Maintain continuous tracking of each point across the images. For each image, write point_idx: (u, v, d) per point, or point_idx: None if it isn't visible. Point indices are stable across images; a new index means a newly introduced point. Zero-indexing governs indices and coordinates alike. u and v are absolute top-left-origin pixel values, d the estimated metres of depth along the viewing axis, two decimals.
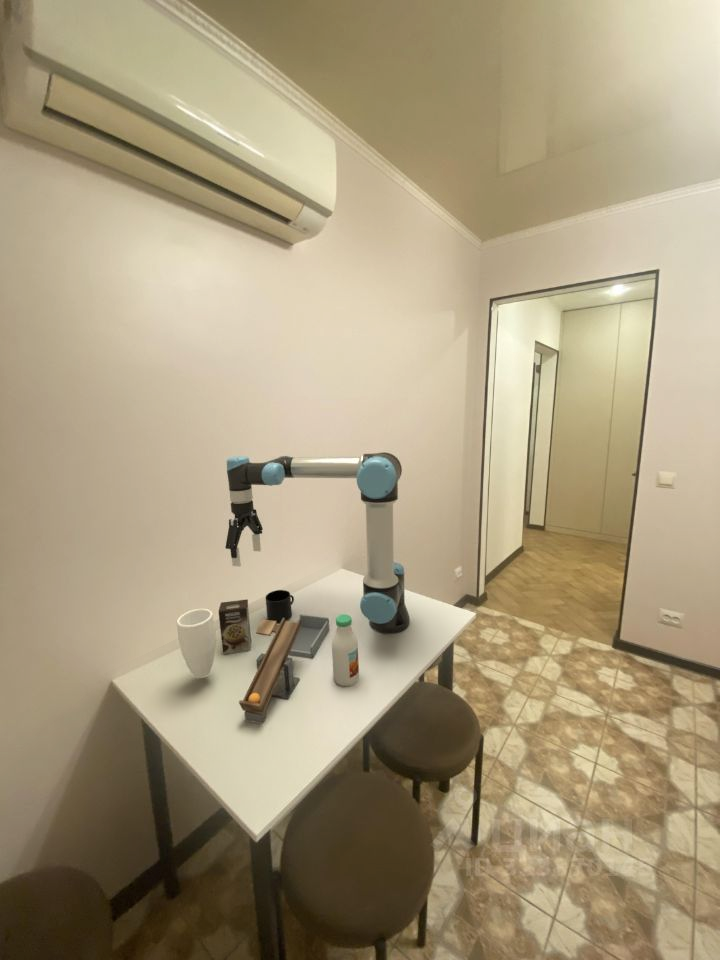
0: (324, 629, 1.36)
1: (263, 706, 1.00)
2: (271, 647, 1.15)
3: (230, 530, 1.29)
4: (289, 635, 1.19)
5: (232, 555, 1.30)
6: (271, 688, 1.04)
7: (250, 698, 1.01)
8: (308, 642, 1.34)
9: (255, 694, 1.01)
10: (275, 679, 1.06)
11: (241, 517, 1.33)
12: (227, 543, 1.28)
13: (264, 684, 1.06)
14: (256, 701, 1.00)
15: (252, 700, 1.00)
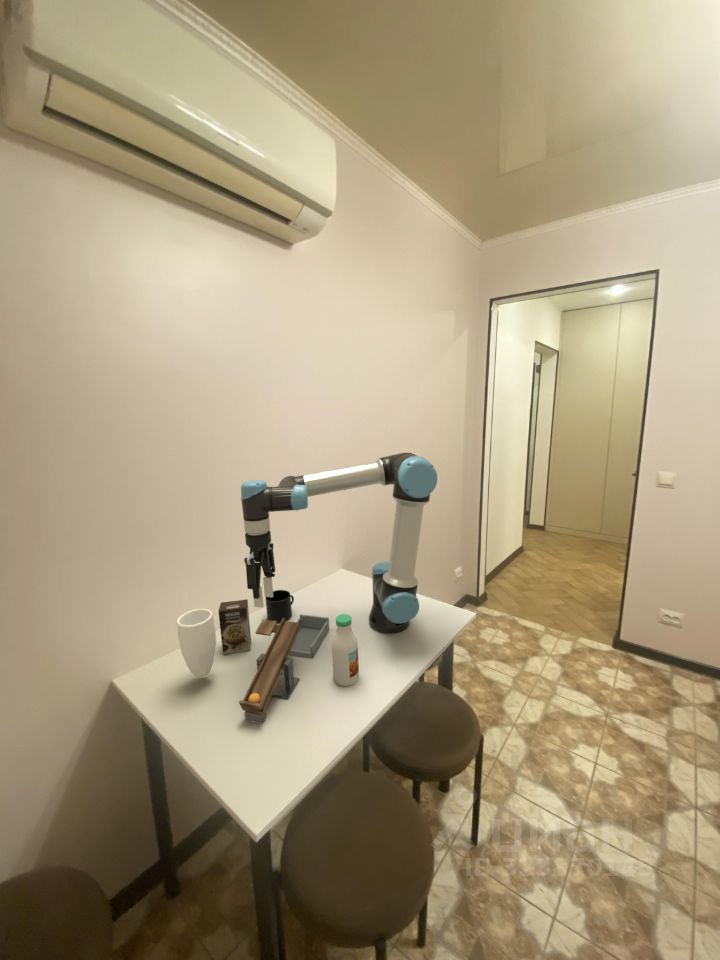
0: (324, 629, 1.36)
1: (263, 706, 1.00)
2: (271, 647, 1.15)
3: (248, 570, 1.13)
4: (289, 635, 1.19)
5: (254, 595, 1.16)
6: (271, 688, 1.04)
7: (250, 698, 1.01)
8: (308, 642, 1.34)
9: (255, 694, 1.01)
10: (275, 679, 1.06)
11: (257, 551, 1.15)
12: (248, 584, 1.14)
13: (264, 684, 1.06)
14: (256, 701, 1.00)
15: (252, 700, 1.00)
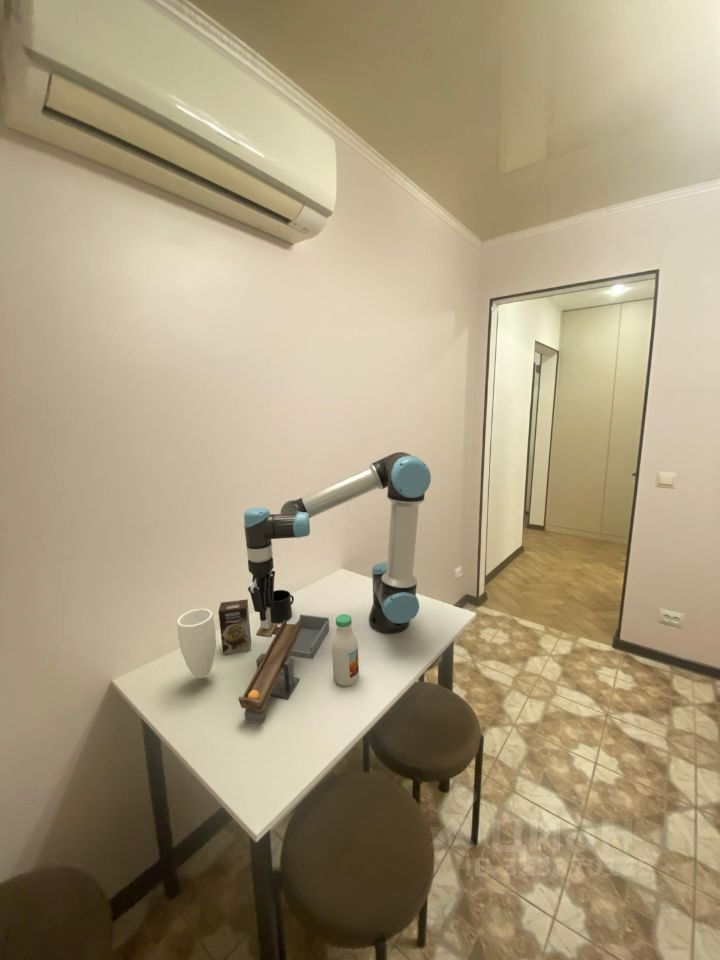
0: (324, 629, 1.36)
1: (262, 703, 1.00)
2: (271, 647, 1.15)
3: (253, 597, 1.16)
4: (290, 637, 1.20)
5: (261, 618, 1.21)
6: (271, 686, 1.04)
7: (250, 695, 1.00)
8: (308, 642, 1.34)
9: (255, 691, 1.01)
10: (275, 678, 1.06)
11: (259, 578, 1.16)
12: (255, 608, 1.18)
13: (264, 683, 1.06)
14: (255, 698, 1.00)
15: (251, 697, 1.00)
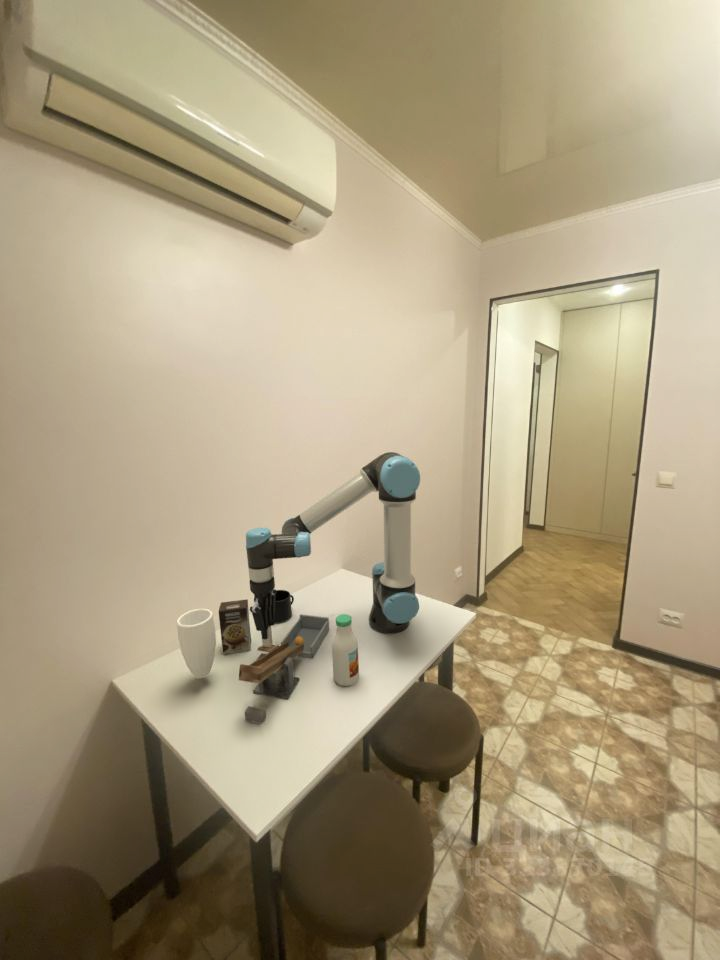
0: (324, 629, 1.36)
1: (262, 675, 0.99)
2: (273, 652, 1.17)
3: (255, 616, 1.18)
4: (291, 652, 1.21)
5: (263, 636, 1.22)
6: (271, 669, 1.04)
7: None
8: (308, 642, 1.34)
9: None
10: (275, 666, 1.06)
11: (261, 597, 1.18)
12: (257, 627, 1.19)
13: (263, 669, 1.06)
14: (301, 639, 1.28)
15: (299, 637, 1.28)
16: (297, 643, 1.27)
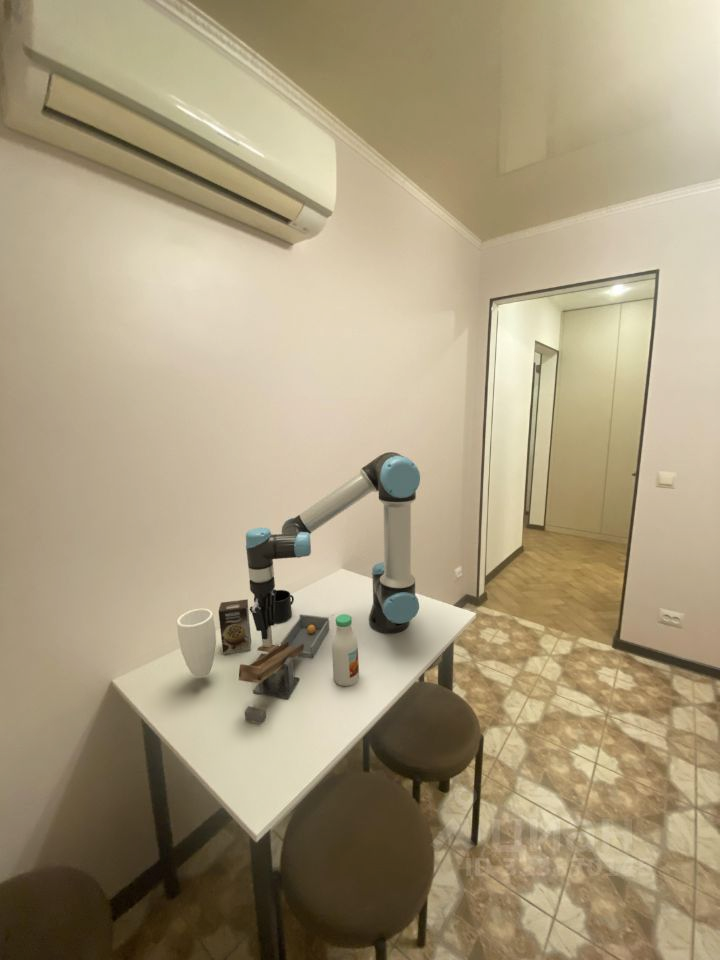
0: (324, 629, 1.36)
1: (262, 675, 0.99)
2: (273, 653, 1.17)
3: (255, 616, 1.18)
4: (291, 652, 1.21)
5: (263, 636, 1.22)
6: (271, 669, 1.04)
7: None
8: (308, 642, 1.34)
9: (311, 633, 1.38)
10: (275, 666, 1.06)
11: (261, 598, 1.18)
12: (257, 627, 1.19)
13: (263, 669, 1.06)
14: None
15: None
16: None
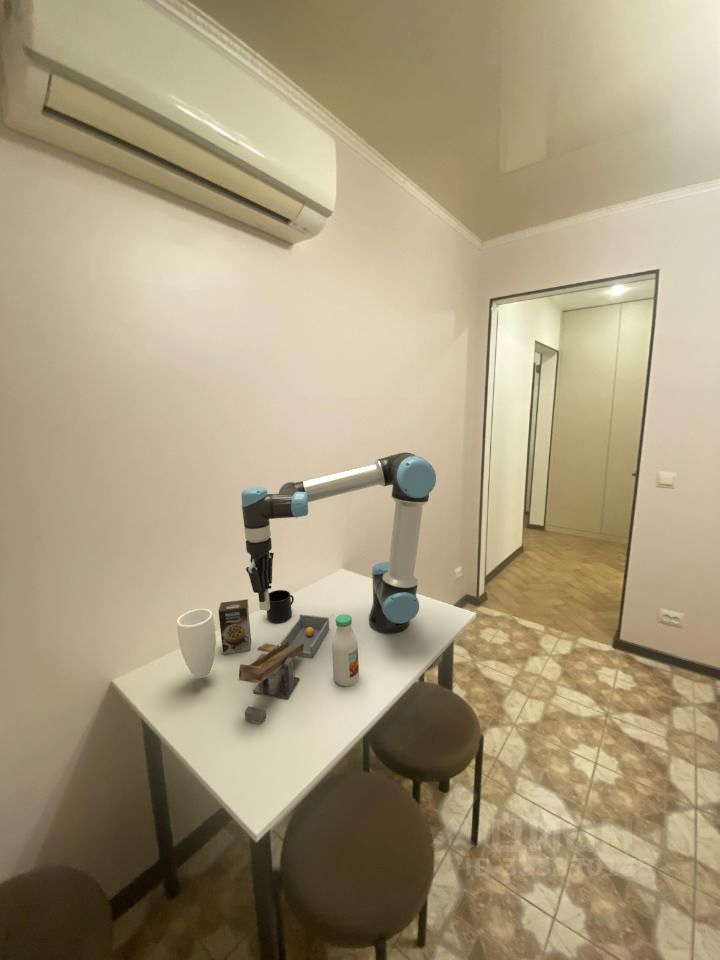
0: (324, 629, 1.36)
1: (262, 675, 0.99)
2: (273, 653, 1.17)
3: (252, 577, 1.15)
4: (291, 652, 1.21)
5: (260, 599, 1.20)
6: (271, 669, 1.04)
7: None
8: (308, 642, 1.34)
9: None
10: (275, 666, 1.06)
11: (257, 558, 1.15)
12: (254, 589, 1.17)
13: (263, 669, 1.06)
14: (313, 630, 1.38)
15: None
16: (310, 627, 1.37)
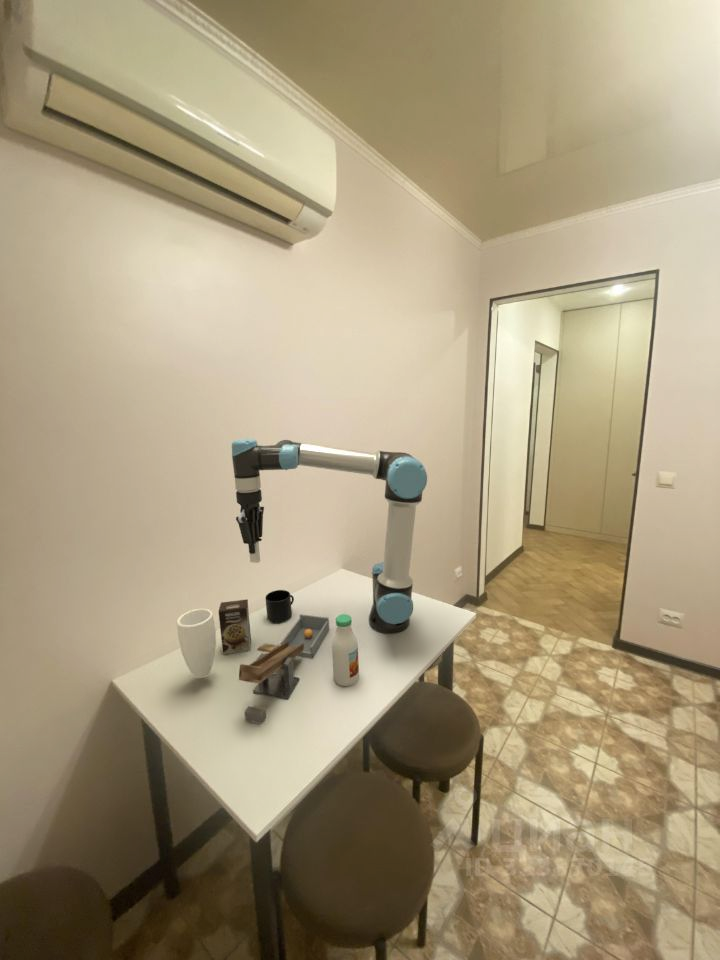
0: (324, 629, 1.36)
1: (262, 675, 0.99)
2: (273, 653, 1.17)
3: (241, 527, 1.17)
4: (291, 652, 1.21)
5: (250, 550, 1.21)
6: (271, 669, 1.04)
7: None
8: (308, 642, 1.34)
9: None
10: (275, 666, 1.06)
11: (247, 508, 1.17)
12: (244, 539, 1.18)
13: (263, 669, 1.06)
14: (311, 631, 1.37)
15: (310, 629, 1.37)
16: (307, 632, 1.35)
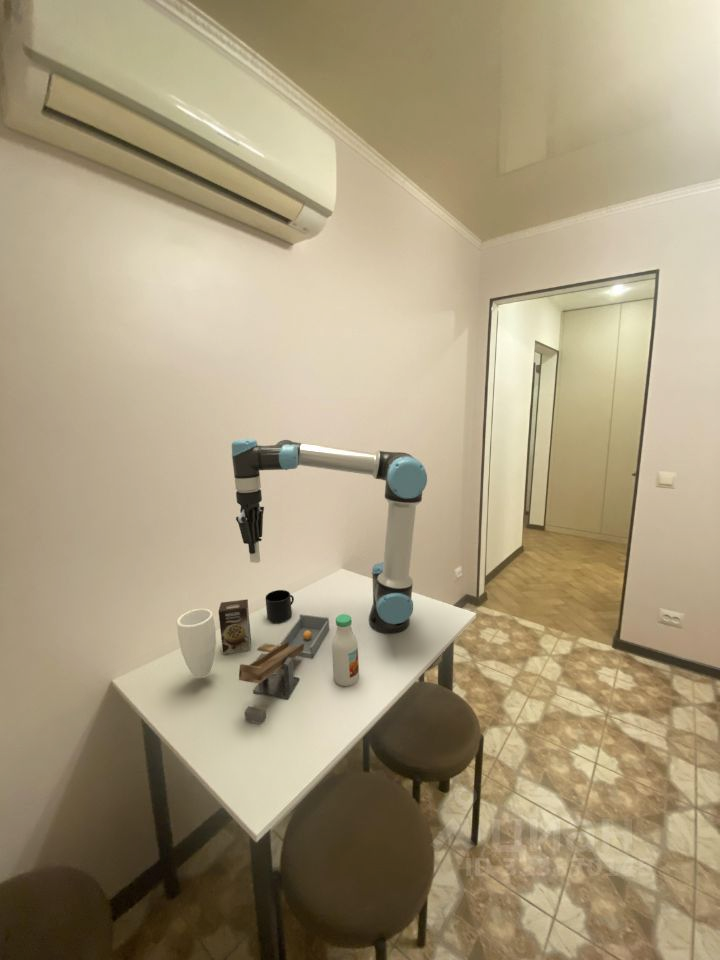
0: (324, 629, 1.36)
1: (262, 675, 0.99)
2: (273, 653, 1.17)
3: (241, 527, 1.17)
4: (291, 652, 1.21)
5: (250, 550, 1.21)
6: (271, 669, 1.04)
7: None
8: (308, 642, 1.34)
9: None
10: (275, 666, 1.06)
11: (247, 508, 1.17)
12: (244, 539, 1.18)
13: (263, 669, 1.06)
14: (310, 633, 1.35)
15: (308, 631, 1.35)
16: (306, 636, 1.34)
